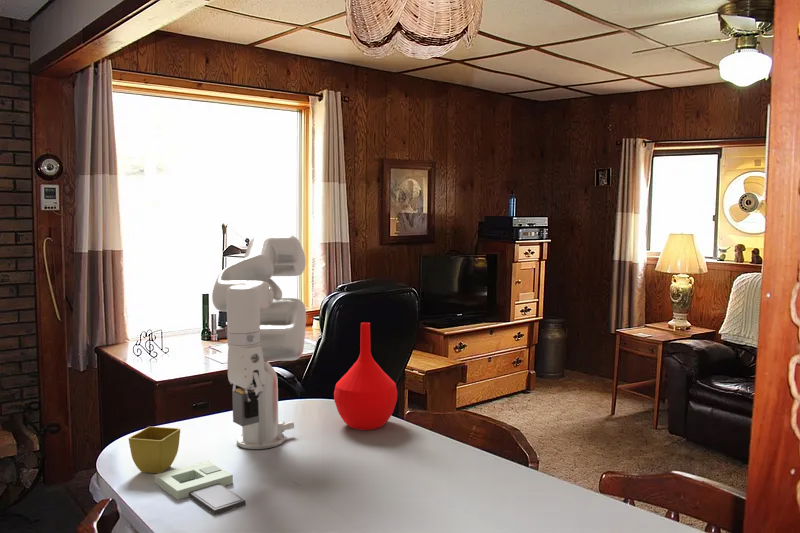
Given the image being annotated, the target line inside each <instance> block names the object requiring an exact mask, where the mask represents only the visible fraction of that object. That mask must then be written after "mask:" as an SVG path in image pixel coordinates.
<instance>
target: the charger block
mask: <svg viewBox="0 0 800 533" xmlns="http://www.w3.org/2000/svg"><path fill="white" fill-rule="evenodd" d="M253 391H254V390H250V391H249V392H250V394H251V392H253ZM231 392H232V393H231V394H232V397H231V398H232V422H233V423H235V424H237V425H239V426H241V427H243V426H246V425H250V424H254V423H258V422H259V400H258V416H256V417H252V418H248V419H247V418H245V401H246V396H245V389H244V388H238V389H236V391H233V390H232V391H231Z"/></svg>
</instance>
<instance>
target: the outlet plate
mask: <svg viewBox="0 0 800 533" xmlns="http://www.w3.org/2000/svg"><path fill="white" fill-rule="evenodd" d="M233 478H234V475H233V473H231V472H229V471H227V470H225V469H224V468H222V467H220V466H218V465H217V464H216V463H213V461H210V460H205V461H201V462H197V463H193V464H190V465H186V466H183V467H179V468H175V469H171V470H168V471H163V472H161V473H155V474H154V482H155V484H156V485H157V486H158V487H159V488H160V489H162V490H163V491H165V492H166V493H168V494H169V495H170V496H172V497H173V498H175V500H177V501H179V500H181V499H185V498H188V497H189V492H191V491H194V490H198V489H201V488H204V487H208V486H211V485H214V484H218V483H219V484H221V485H222V486H224V487H225V486H226V487H227V486H229V485H232V484H233V483H234V479H233ZM185 481H186V482H185ZM189 498H190V497H189Z"/></svg>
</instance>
